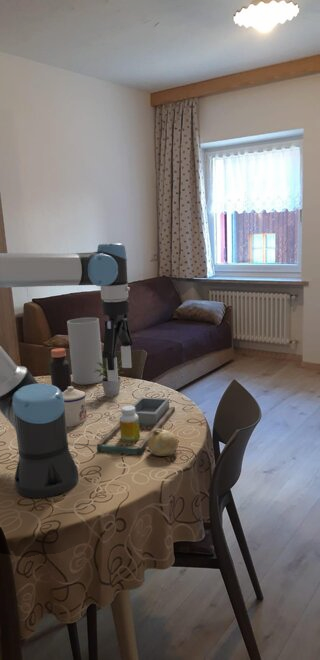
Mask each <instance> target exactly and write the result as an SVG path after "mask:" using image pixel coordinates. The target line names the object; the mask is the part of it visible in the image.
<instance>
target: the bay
mask: <svg viewBox="0 0 320 660" xmlns="http://www.w3.org/2000/svg"><path fill="white" fill-rule="evenodd" d="M175 409H176V407H175V406H170V409H169V410H168V411H167V412H166V413H165V415H164V416H163V417H162V418H161V419H160V421H159V422H158V423H157V424H156V425H155V426H153V427H152V429H151V430H150V431H149V432H148V433H147V435H146V436H145V437H144V438H143V440H142V441H141V442H140V443H139V444H138V446H136V447H135V446H125V445H124V446H123V445H110V444H108V443H109V442H110V441H111V440H112V439H113V437H115V436H116V435H117V434H118V432H121V431H120V421H119V422H118V423H117V424H116V425H115V426H114V427H113V428H112V429H111V430H110V431H109V432H107V434H105V435H104V436H103V437H102V438H101V440H99V441H98V442H97V443H96V449H97V451H98V452H108V453H117V454H118V453H119V454H128V455H129V454H130V455H131V454H132V455H143V454H144V452H145V451H146V450H147V448H148V439H149V437H150V435H151V434H152V433H153V431H154V430H156V429H158V428H160V429H162V428H163V426H164V425H165V424H166V422H168V421H169V419H170V418H171V416H172V415H173V414H174V413H175V411H176V410H175ZM146 447H147V448H146Z"/></svg>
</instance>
